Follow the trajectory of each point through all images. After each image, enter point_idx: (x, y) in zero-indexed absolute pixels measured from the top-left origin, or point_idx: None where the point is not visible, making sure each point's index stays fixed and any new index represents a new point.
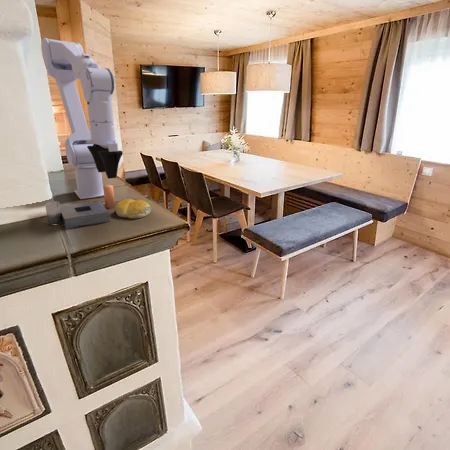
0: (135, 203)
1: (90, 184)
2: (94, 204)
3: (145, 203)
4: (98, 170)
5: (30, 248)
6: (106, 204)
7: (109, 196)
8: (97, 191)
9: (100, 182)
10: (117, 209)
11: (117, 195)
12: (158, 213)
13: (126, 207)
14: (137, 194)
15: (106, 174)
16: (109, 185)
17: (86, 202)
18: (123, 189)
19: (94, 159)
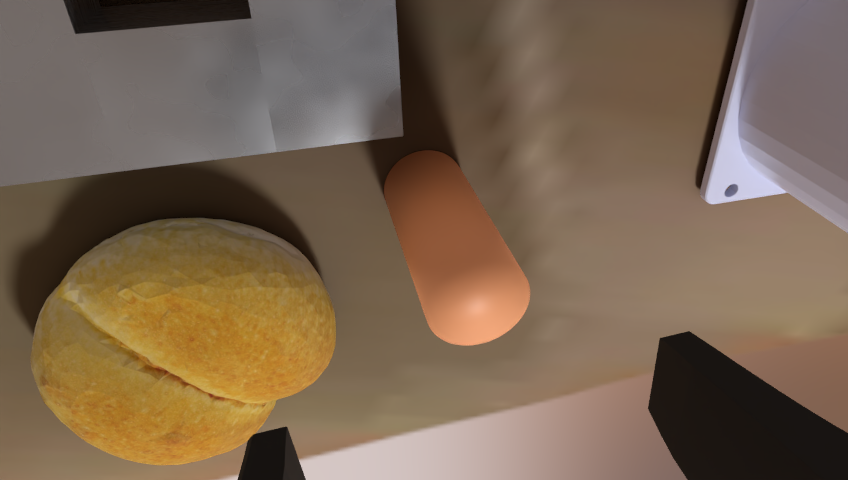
0: (104, 415)
1: (835, 124)
2: (284, 79)
3: (136, 461)
4: (676, 354)
5: None
6: (407, 173)
7: (404, 245)
8: (762, 146)
9: (829, 217)
10: (148, 252)
11: (672, 261)
12: None
13: (111, 330)
14: (612, 374)
15: (268, 470)
16: (498, 316)
17: (390, 4)
18: (776, 307)
19: (837, 468)
